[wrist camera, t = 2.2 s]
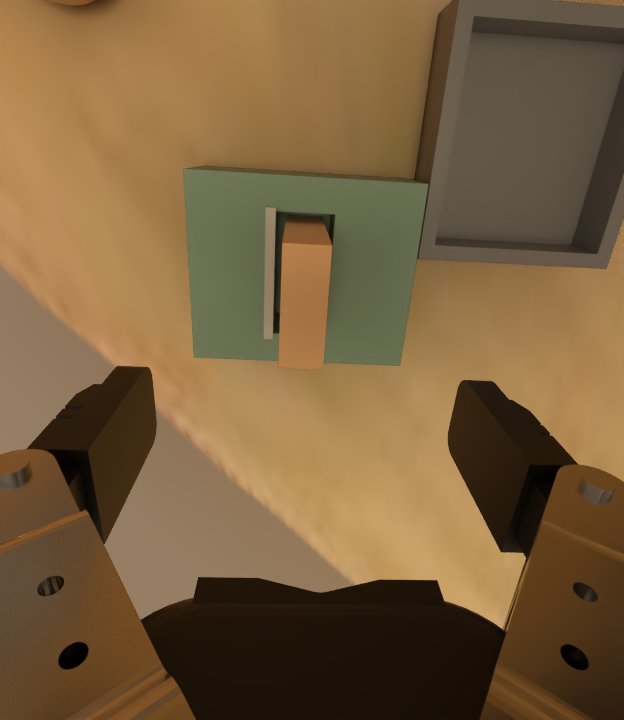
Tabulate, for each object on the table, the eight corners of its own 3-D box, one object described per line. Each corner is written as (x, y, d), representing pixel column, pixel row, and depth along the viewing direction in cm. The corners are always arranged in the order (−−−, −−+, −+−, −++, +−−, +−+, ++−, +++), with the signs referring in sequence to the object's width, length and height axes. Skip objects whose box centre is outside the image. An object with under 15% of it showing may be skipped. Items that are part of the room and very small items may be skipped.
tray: (640, 30, 24) (692, 12, 21) (572, 256, 29) (606, 268, 26) (438, 14, 23) (460, -8, 20) (404, 246, 28) (418, 258, 25)
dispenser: (406, 178, 27) (430, 184, 22) (384, 334, 31) (401, 368, 26) (202, 165, 26) (181, 169, 21) (209, 326, 30) (192, 360, 25)
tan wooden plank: (321, 216, 26) (332, 245, 18) (315, 306, 28) (322, 369, 20) (287, 214, 26) (282, 243, 18) (283, 305, 28) (278, 367, 20)
